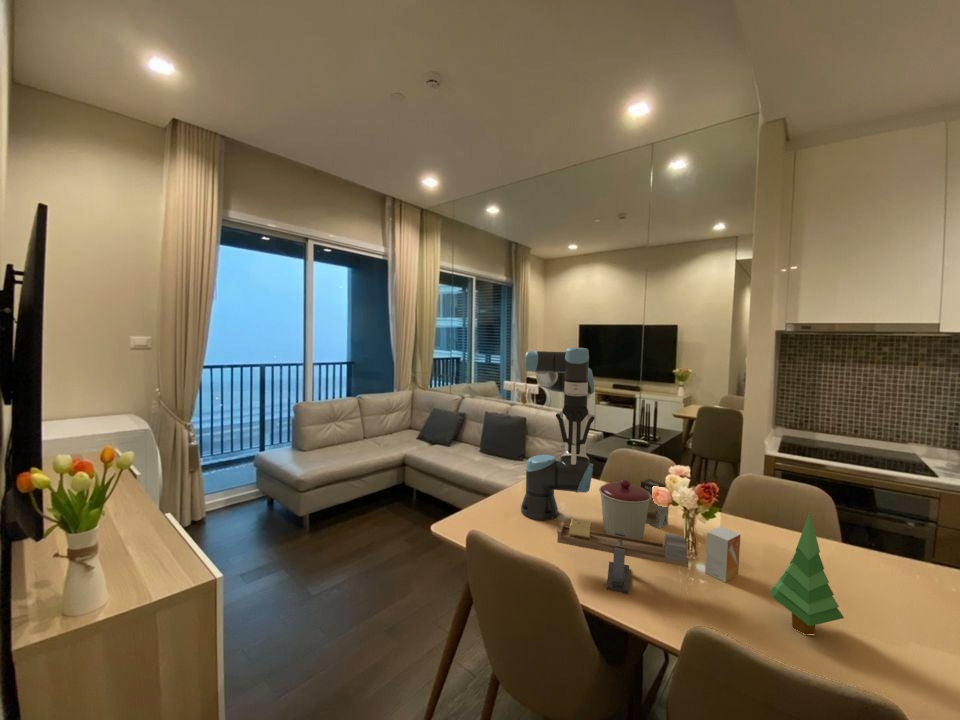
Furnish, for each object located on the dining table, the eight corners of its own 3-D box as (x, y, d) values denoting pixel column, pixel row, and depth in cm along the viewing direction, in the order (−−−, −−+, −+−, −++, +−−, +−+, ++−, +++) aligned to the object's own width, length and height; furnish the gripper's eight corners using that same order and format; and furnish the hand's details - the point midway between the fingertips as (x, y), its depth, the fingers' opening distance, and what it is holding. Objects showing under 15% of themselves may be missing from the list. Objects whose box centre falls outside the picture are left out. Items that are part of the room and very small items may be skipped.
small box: (726, 583, 119) (728, 540, 119) (704, 572, 125) (706, 531, 124) (739, 575, 124) (741, 533, 123) (717, 565, 129) (719, 525, 128)
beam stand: (609, 564, 128) (610, 529, 127) (629, 568, 126) (630, 532, 125) (606, 589, 115) (608, 550, 114) (629, 594, 113) (630, 554, 112)
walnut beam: (561, 532, 130) (561, 515, 130) (684, 555, 118) (685, 535, 117) (557, 544, 123) (557, 525, 122) (688, 569, 110) (689, 549, 110)
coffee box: (638, 520, 160) (639, 481, 160) (647, 516, 164) (649, 478, 163) (659, 529, 153) (661, 488, 152) (668, 525, 156) (670, 485, 156)
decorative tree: (753, 609, 107) (759, 500, 106) (813, 612, 107) (819, 502, 106) (791, 648, 94) (798, 523, 93) (859, 651, 93) (867, 525, 92)
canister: (634, 554, 135) (636, 492, 134) (587, 534, 148) (589, 478, 147) (658, 537, 146) (661, 481, 145) (613, 520, 160) (615, 468, 159)
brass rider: (571, 531, 127) (571, 519, 127) (590, 535, 125) (591, 522, 125) (569, 537, 123) (569, 525, 123) (589, 541, 121) (589, 528, 121)
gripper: (554, 394, 132) (552, 464, 134) (595, 397, 128) (593, 469, 130) (557, 391, 139) (555, 457, 141) (596, 393, 135) (594, 461, 137)
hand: (573, 463), depth 135 cm, fingers closed
